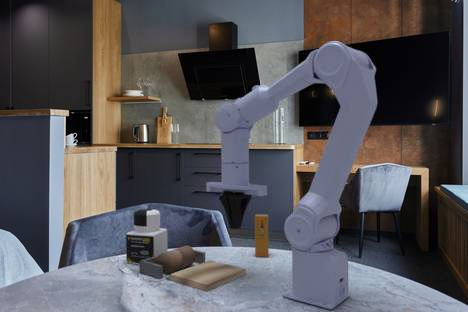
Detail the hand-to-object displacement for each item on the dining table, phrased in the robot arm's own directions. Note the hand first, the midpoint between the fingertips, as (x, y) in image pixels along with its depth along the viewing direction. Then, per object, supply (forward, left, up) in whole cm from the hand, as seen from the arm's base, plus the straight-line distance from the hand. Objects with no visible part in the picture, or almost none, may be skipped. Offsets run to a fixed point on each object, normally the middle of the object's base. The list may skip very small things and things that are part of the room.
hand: (235, 228), depth 83 cm
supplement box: (+4, -15, -10) cm, 19 cm away
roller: (+13, +5, -8) cm, 16 cm away
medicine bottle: (+23, +5, -10) cm, 25 cm away
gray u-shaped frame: (+14, +5, -10) cm, 18 cm away
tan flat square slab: (+4, +5, -10) cm, 12 cm away
